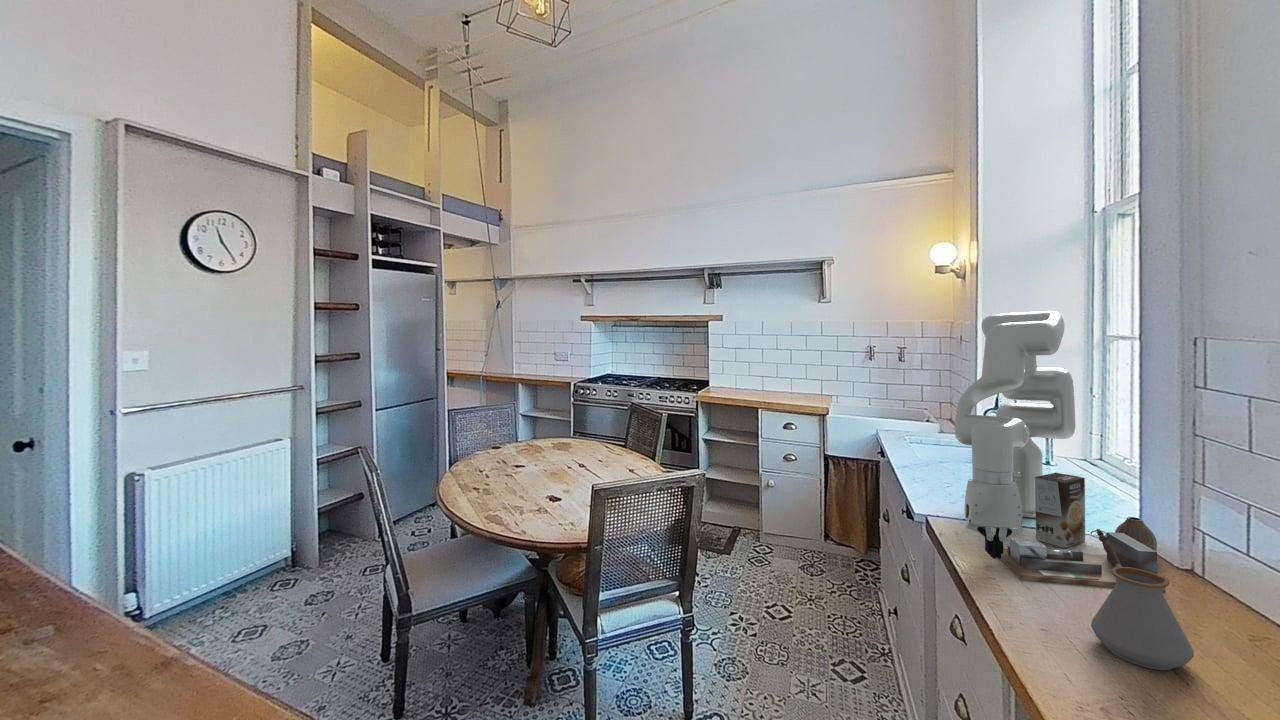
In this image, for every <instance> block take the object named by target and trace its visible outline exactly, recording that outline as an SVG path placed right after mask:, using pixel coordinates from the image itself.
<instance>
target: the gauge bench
mask: <svg viewBox="0 0 1280 720" xmlns="http://www.w3.org/2000/svg"><path fill="white" fill-rule="evenodd" d="M1105 533H1106V534H1105V535H1107V536H1106V537H1107V538H1108V540H1107V541H1108V542H1109V544H1110V545H1111V546H1112V547H1113V549H1114V551H1115V553H1116V555H1117V557H1118V559H1119V561H1120V563H1121V566H1122V567H1130V568H1136V569H1141V570H1145V571H1148V572H1152V573H1154V574H1157V575H1158V551H1154V550H1153V549H1151V548H1149V547H1147V546H1145V545H1144V544H1142V543H1140V542H1138V541H1136V540H1135V539H1133V538H1131V537H1129V536H1127V535H1126V534H1124V533H1115V531H1114V532H1113V531H1105ZM1046 549H1052V550H1067V551H1071V552H1072V553H1073V557H1072V558H1057V557H1047V559H1045V560H1041V559H1033V558H1021V565H1019V564H1018V563H1017V562H1016V561H1015V560H1014V559H1013V558H1012V557H1011V556H1010V545H1007V547H1006V548H1004V547H1003V554H1001V559H1000V560H1002V561H1003V562H1004V563H1005V564H1006V566H1008V567H1009V568H1010V570H1012V571H1013V572H1014V573H1015V574H1016V575H1017V576H1018V577H1019V578H1020V579H1021V580H1022V581H1032V582H1044V583H1045V582H1047V583H1057V584H1058V583H1059V584H1071V585H1083V586H1084V585H1086V586H1097V587H1110V588H1114V587H1115V585H1116V584H1117V582H1116V579H1115V576H1114V575H1113V574H1112V573H1111V569H1113V568H1115V567H1116V566H1115V565H1114V564H1113V562H1112V560H1111V559H1110V557H1109V556H1108V554H1107V553H1106V554H1095V553H1084V552H1083V550H1080V549H1079V550H1078V549H1066V548H1049V547H1046ZM1163 592H1166V587H1165V588H1164V591H1163Z"/></svg>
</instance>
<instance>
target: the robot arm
mask: <svg viewBox="0 0 1280 720" xmlns="http://www.w3.org/2000/svg"><path fill="white" fill-rule="evenodd" d="M981 330H982V332H983V335H984V337H985V341H984V348H983V349H984V350H983V351H984V352H983V361H982V367H981V368H982V371H981V376H980V377H979V378H978V379H977V380H975V381H974V382H973V383H971V385H969V386H968V387H967V388H966V389H965V391H964V392H963V393H962V394H961V396H960V397H959V399H958V402H957V406H956V410H955V411H956V412H955V419H954V436H955V439H957V441H958V442H959V443H960V444H962V445H964V446H970V447H971V465H972V466H971V472H972V473H971V474H972V478H969V479H968V480H967V483H966V487H965V488H966V489H965V494H964V495H965V497H964V509H963V511H964V517H965V519H966V522H965V527H966V528H967V529H968V530H969V531H973V532H979V534H981V535H982V536H983V537H984V550H985V552H986V553H987V554H988V555H989V556H990V557H991V558H992V559H997V560H1002V559H1001V554H1003V548H1004V542H1006V540H1007V538H1009V537H1010V536H1011V535H1012V534H1013V535H1014V534H1019V533H1022V532H1023V531H1024V530H1023V521H1024V520H1023V519H1024V518H1032V519H1033V518H1035V519H1036V511H1035V477H1037V476H1042V475H1044V471H1043V470H1044V469H1043V453H1042V450H1041V448H1040V447H1039V446H1038V445H1037V443H1035V441H1034V440H1032V438H1041V439H1042V438H1044V439H1054V440H1066V439H1067V440H1068V439H1070V438H1071V437H1073V435H1074V434H1075V431H1076V409H1075V408H1076V405H1075V402H1076V401H1075V387H1074V380H1073V376H1072V374H1071V372H1069V370H1067V369H1064V368H1062V367H1039V366H1038V365H1037V356H1051V355H1054V354H1056V353H1057V352H1058V350H1059V349H1060V346H1061V344H1062V340H1063V337H1064V333H1065V320H1064V317H1063V316H1062V315H1061V314H1060V313H1059V312H1058V311H1055V310H1052V311H1051V310H1046V311H1045V310H1044V311H1029V312H1027V311H1026V312H1009V313H1008V312H1007V313H997V314H992V315H989V316H987V317H985V318H984V319H983V320H982V322H981ZM1000 394H1002V396H1003V398H1006V399H1007V400H1012V401H1022V402H1009V403H1005V404H1003V405H1000V406H999V407H998V408H997V410H996V412H995V416H994V415H979V414H972V412H973V409H974V407H976V405H977V404H978V403H980V402H981V401H984V400H986V399H987V398H991V397H992V396H996V395H1000ZM1023 401H1024V402H1025V403H1024V402H1023ZM1026 402H1043V403H1044V402H1047V404H1046V403H1045V404H1043V403H1026ZM1048 403H1050V404H1048ZM992 528H993V529H994V534H993V529H992Z"/></svg>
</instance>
